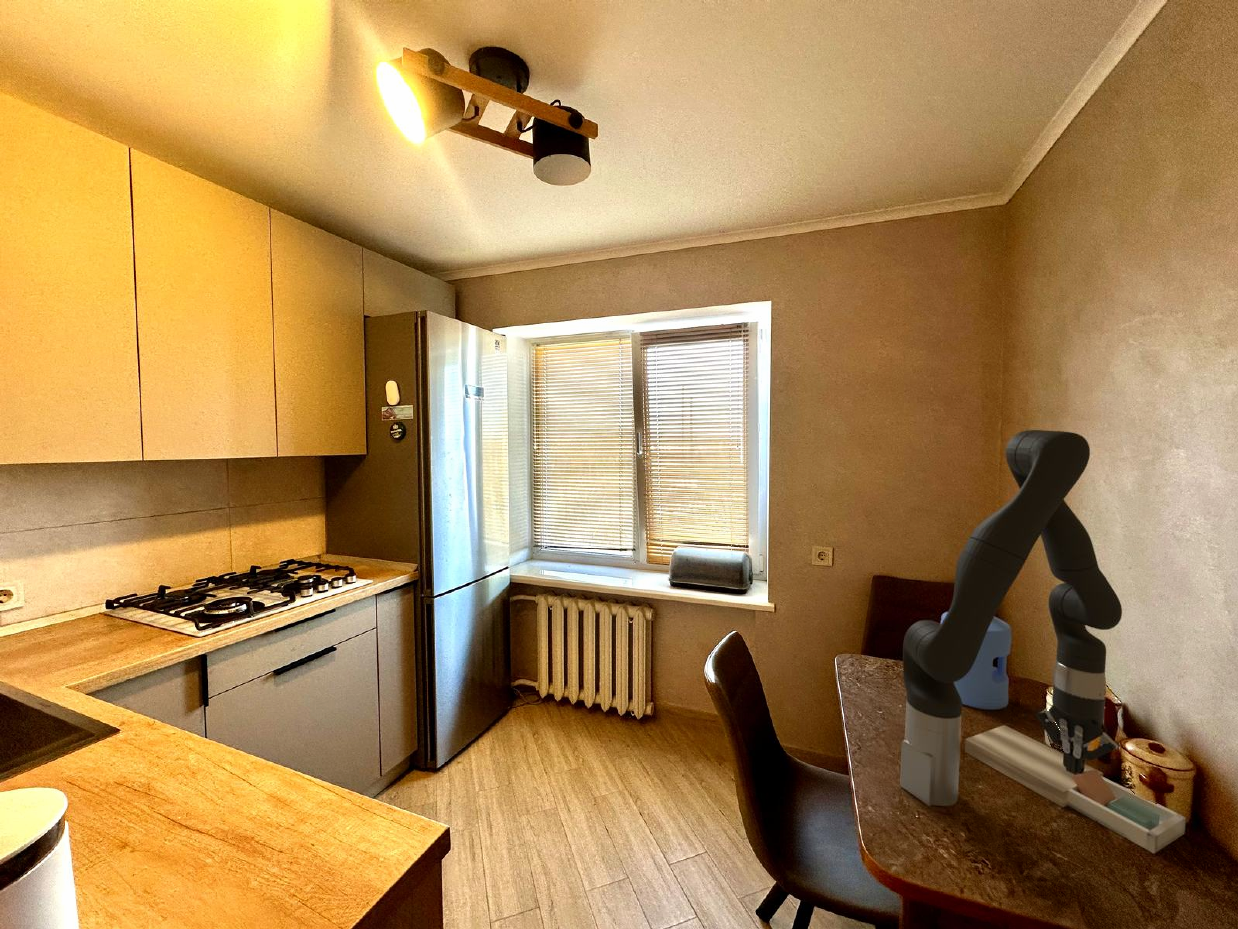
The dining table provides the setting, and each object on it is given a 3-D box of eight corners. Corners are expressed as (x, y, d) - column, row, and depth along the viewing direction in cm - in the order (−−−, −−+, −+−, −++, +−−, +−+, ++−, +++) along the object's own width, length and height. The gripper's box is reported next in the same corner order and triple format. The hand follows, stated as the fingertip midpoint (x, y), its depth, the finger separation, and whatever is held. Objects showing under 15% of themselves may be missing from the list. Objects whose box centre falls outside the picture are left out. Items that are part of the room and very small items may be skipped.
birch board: (1062, 807, 94) (1063, 792, 94) (964, 752, 111) (965, 739, 111) (1102, 787, 100) (1103, 773, 100) (1003, 737, 116) (1003, 725, 116)
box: (1154, 853, 84) (1155, 836, 84) (1067, 805, 95) (1068, 790, 95) (1184, 833, 88) (1185, 817, 88) (1098, 789, 99) (1099, 775, 99)
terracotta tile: (1090, 807, 94) (1101, 806, 92) (1071, 776, 96) (1081, 775, 95) (1105, 800, 96) (1116, 799, 94) (1086, 770, 98) (1096, 769, 97)
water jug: (944, 703, 131) (948, 599, 130) (932, 677, 146) (936, 583, 144) (1017, 717, 125) (1022, 608, 123) (997, 688, 139) (1002, 590, 138)
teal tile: (1108, 804, 92) (1107, 814, 92) (1145, 823, 87) (1144, 834, 87) (1123, 796, 94) (1122, 806, 94) (1159, 815, 89) (1159, 826, 89)
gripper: (1028, 676, 102) (1024, 757, 103) (1112, 708, 90) (1106, 800, 91) (1049, 669, 105) (1044, 748, 106) (1133, 700, 93) (1127, 789, 94)
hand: (1073, 772), depth 99 cm, fingers closed
